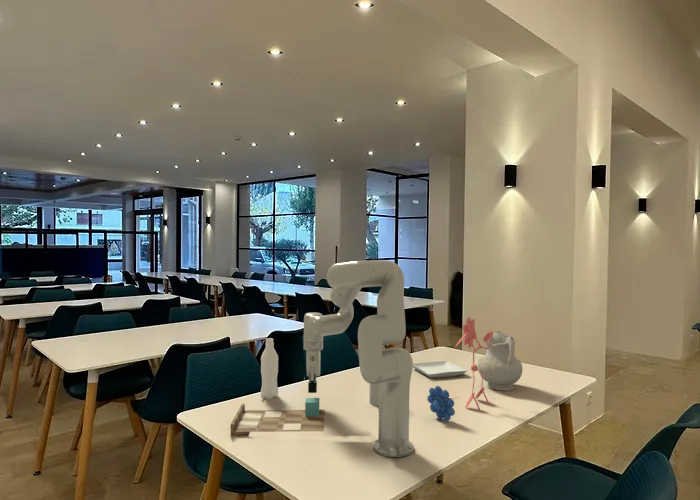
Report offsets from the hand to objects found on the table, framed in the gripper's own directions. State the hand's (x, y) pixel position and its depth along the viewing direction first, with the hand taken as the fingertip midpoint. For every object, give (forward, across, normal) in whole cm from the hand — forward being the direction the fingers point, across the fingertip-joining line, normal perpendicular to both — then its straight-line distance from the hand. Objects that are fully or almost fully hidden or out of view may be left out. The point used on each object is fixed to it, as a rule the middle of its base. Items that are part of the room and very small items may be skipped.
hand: (312, 392), depth 182 cm
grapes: (+6, -12, -47) cm, 49 cm away
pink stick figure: (+6, +6, -63) cm, 64 cm away
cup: (+7, +7, -27) cm, 29 cm away
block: (+5, -9, 0) cm, 10 cm away
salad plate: (+8, +51, -61) cm, 80 cm away
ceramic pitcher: (+6, +26, -84) cm, 88 cm away
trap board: (+7, -15, +11) cm, 19 cm away
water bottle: (+8, +12, +18) cm, 23 cm away
